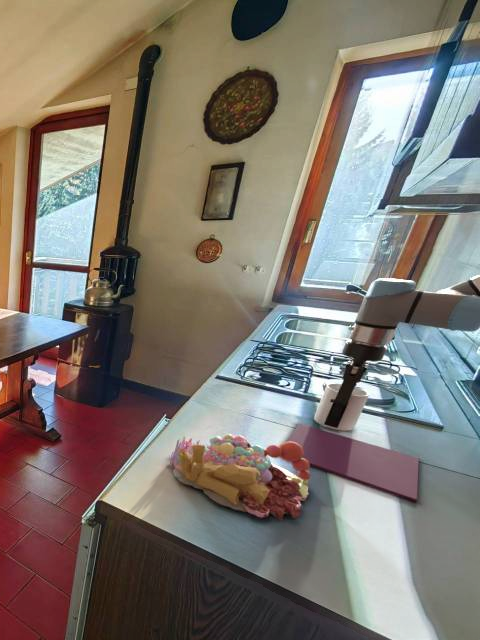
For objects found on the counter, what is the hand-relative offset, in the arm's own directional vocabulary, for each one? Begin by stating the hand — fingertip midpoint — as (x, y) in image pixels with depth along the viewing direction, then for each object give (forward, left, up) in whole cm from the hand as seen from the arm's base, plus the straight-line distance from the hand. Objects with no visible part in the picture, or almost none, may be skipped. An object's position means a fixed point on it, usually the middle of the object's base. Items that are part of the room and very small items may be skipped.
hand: (334, 418), depth 106 cm
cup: (0, 0, -1) cm, 1 cm away
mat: (-5, +21, -1) cm, 22 cm away
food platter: (+10, +51, -1) cm, 52 cm away
